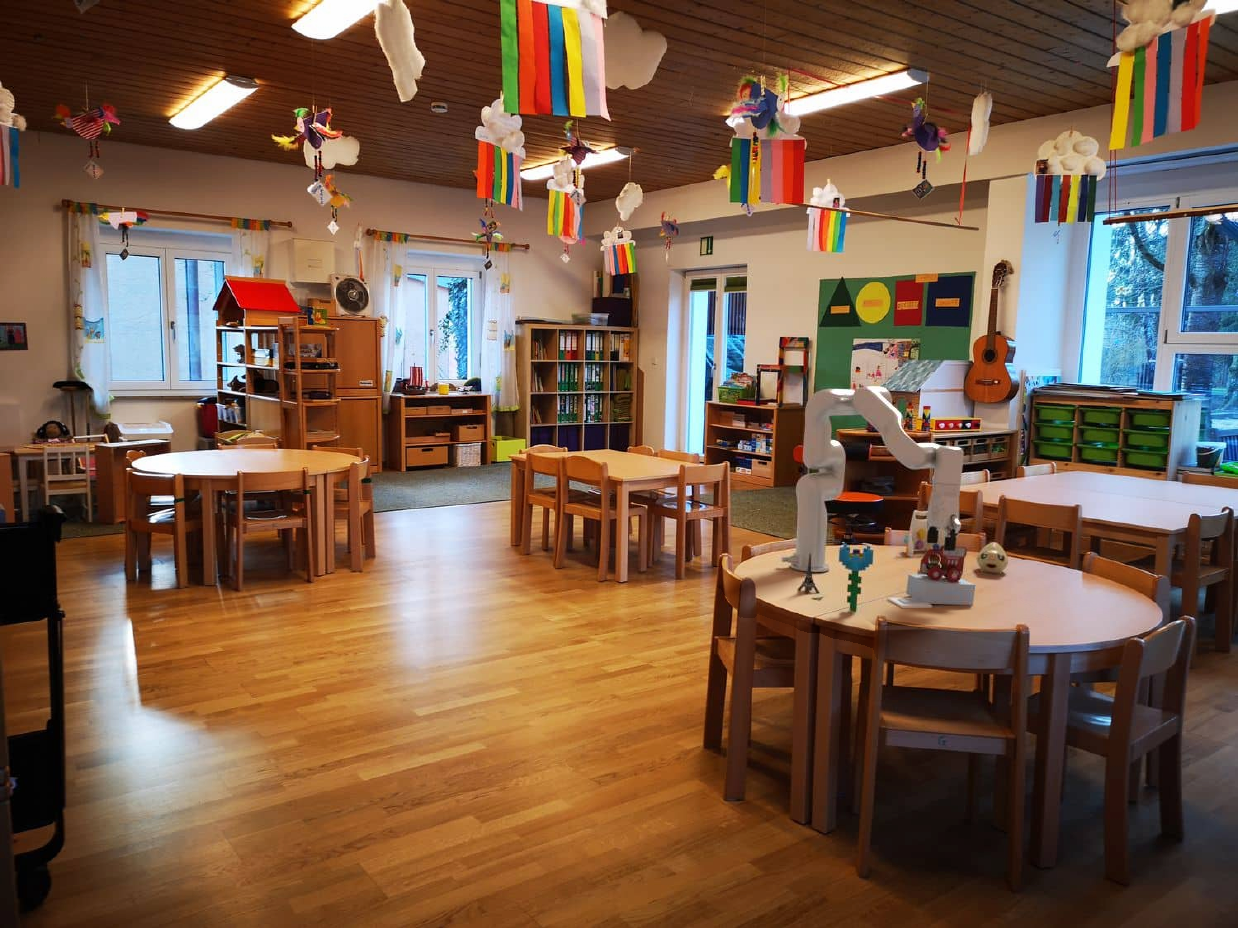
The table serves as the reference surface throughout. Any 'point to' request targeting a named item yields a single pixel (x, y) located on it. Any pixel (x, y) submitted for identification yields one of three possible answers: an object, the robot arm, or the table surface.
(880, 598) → the table surface
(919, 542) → the shape sorter
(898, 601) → the tile
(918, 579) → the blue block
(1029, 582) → the table surface
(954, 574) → the toy fire truck
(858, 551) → the toy flower
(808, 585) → the eiffel tower figurine
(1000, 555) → the yellow animal figurine
